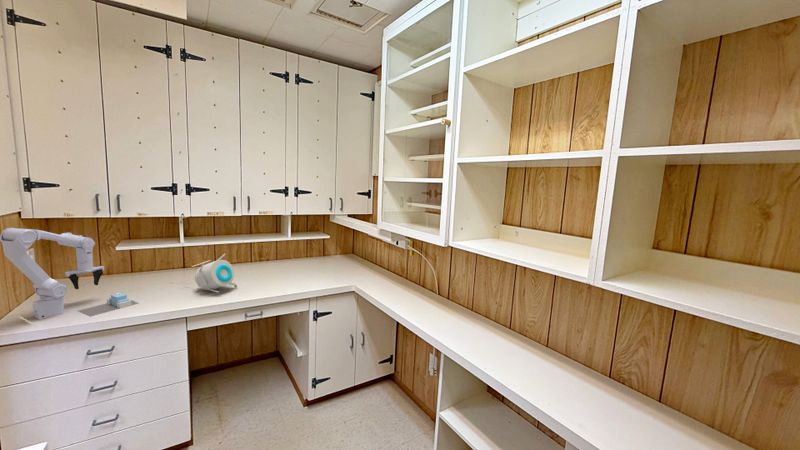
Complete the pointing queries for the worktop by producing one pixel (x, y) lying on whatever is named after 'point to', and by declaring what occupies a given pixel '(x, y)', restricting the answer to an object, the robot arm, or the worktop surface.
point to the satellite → (215, 275)
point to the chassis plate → (106, 307)
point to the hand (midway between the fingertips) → (86, 286)
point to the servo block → (118, 298)
